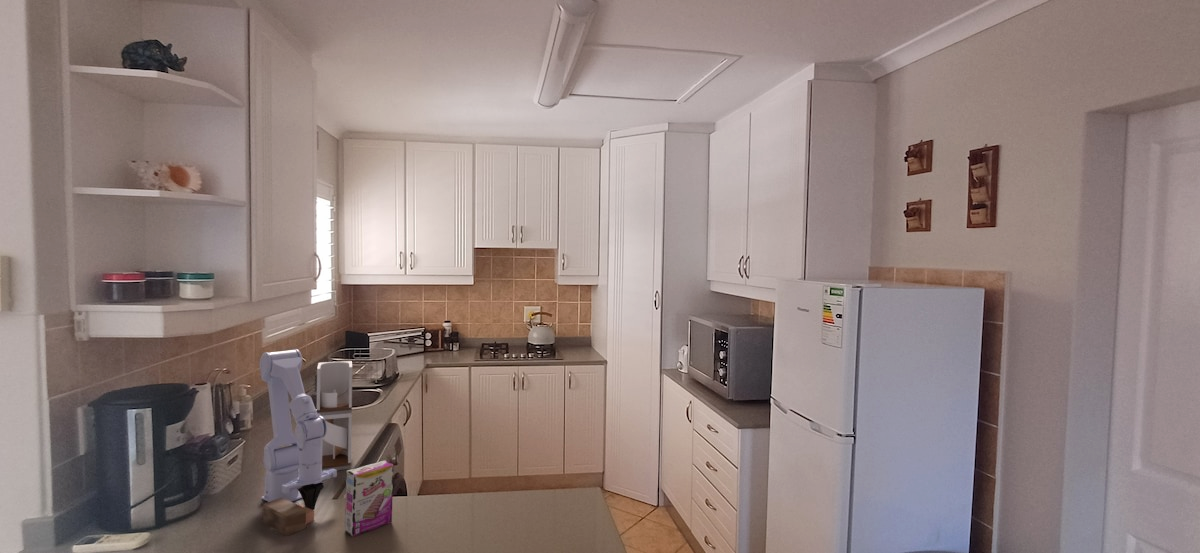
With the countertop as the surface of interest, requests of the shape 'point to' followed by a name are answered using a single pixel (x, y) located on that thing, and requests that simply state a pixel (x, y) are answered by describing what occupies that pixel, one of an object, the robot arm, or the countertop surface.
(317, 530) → the countertop surface
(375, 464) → the candy bar box
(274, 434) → the robot arm
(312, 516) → the terracotta brick
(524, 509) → the countertop surface
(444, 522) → the countertop surface
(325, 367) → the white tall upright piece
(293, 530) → the tan wooden box
